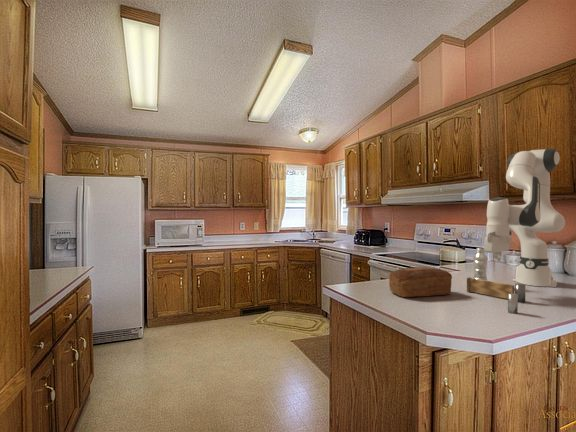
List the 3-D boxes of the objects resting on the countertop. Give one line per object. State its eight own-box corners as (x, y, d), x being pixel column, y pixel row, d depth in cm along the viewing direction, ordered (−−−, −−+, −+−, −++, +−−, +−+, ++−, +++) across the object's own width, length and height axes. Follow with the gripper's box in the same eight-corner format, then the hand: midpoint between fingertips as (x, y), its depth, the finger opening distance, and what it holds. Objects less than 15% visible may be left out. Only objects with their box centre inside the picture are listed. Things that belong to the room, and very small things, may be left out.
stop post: (509, 310, 119) (509, 292, 119) (518, 312, 116) (518, 294, 116) (506, 312, 117) (506, 294, 117) (515, 314, 115) (516, 295, 115)
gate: (514, 299, 134) (514, 284, 134) (512, 300, 132) (512, 285, 132) (469, 290, 149) (469, 277, 149) (466, 291, 147) (466, 278, 147)
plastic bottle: (483, 285, 161) (483, 247, 161) (490, 288, 155) (490, 248, 154) (470, 284, 162) (470, 247, 162) (476, 288, 155) (477, 248, 155)
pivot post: (516, 300, 134) (516, 283, 133) (526, 302, 131) (526, 284, 131) (513, 301, 131) (513, 284, 131) (523, 303, 128) (523, 285, 128)
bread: (456, 296, 140) (457, 269, 140) (402, 300, 133) (402, 272, 133) (435, 289, 153) (435, 264, 153) (385, 292, 147) (385, 266, 147)
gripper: (496, 232, 135) (495, 264, 135) (513, 231, 147) (512, 260, 147) (480, 232, 140) (479, 262, 140) (498, 231, 152) (497, 258, 152)
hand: (496, 261), depth 143 cm, fingers closed
